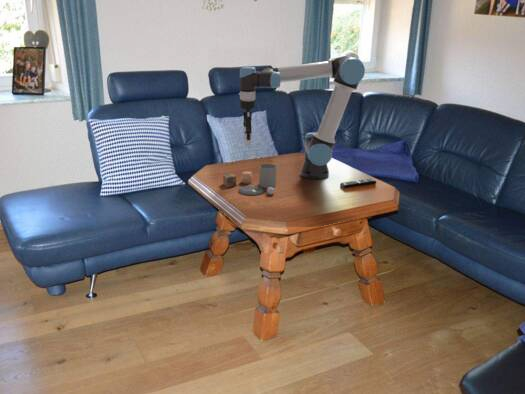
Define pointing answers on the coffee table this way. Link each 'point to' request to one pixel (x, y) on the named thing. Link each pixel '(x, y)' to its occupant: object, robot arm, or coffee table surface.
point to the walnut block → (229, 180)
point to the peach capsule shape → (246, 177)
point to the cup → (267, 175)
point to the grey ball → (270, 190)
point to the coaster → (251, 190)
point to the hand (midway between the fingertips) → (247, 142)
